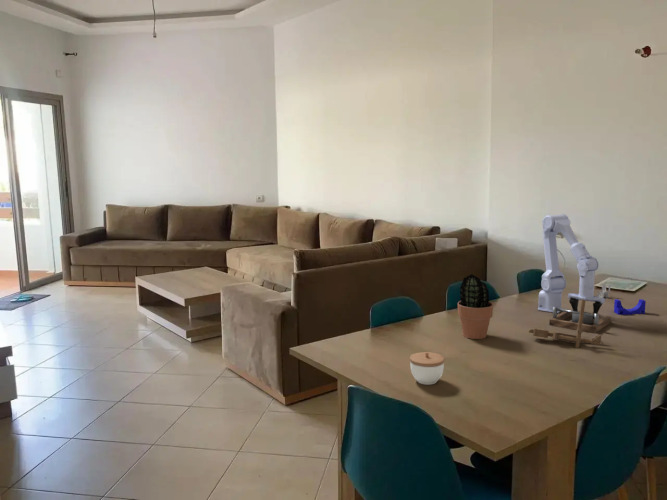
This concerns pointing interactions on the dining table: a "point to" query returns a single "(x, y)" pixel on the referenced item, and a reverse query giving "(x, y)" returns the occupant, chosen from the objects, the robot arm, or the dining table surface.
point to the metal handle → (596, 316)
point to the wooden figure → (569, 337)
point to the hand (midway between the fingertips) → (585, 317)
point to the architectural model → (603, 292)
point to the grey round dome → (586, 319)
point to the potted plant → (474, 308)
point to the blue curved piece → (636, 310)
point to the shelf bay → (573, 325)
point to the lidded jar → (427, 367)
